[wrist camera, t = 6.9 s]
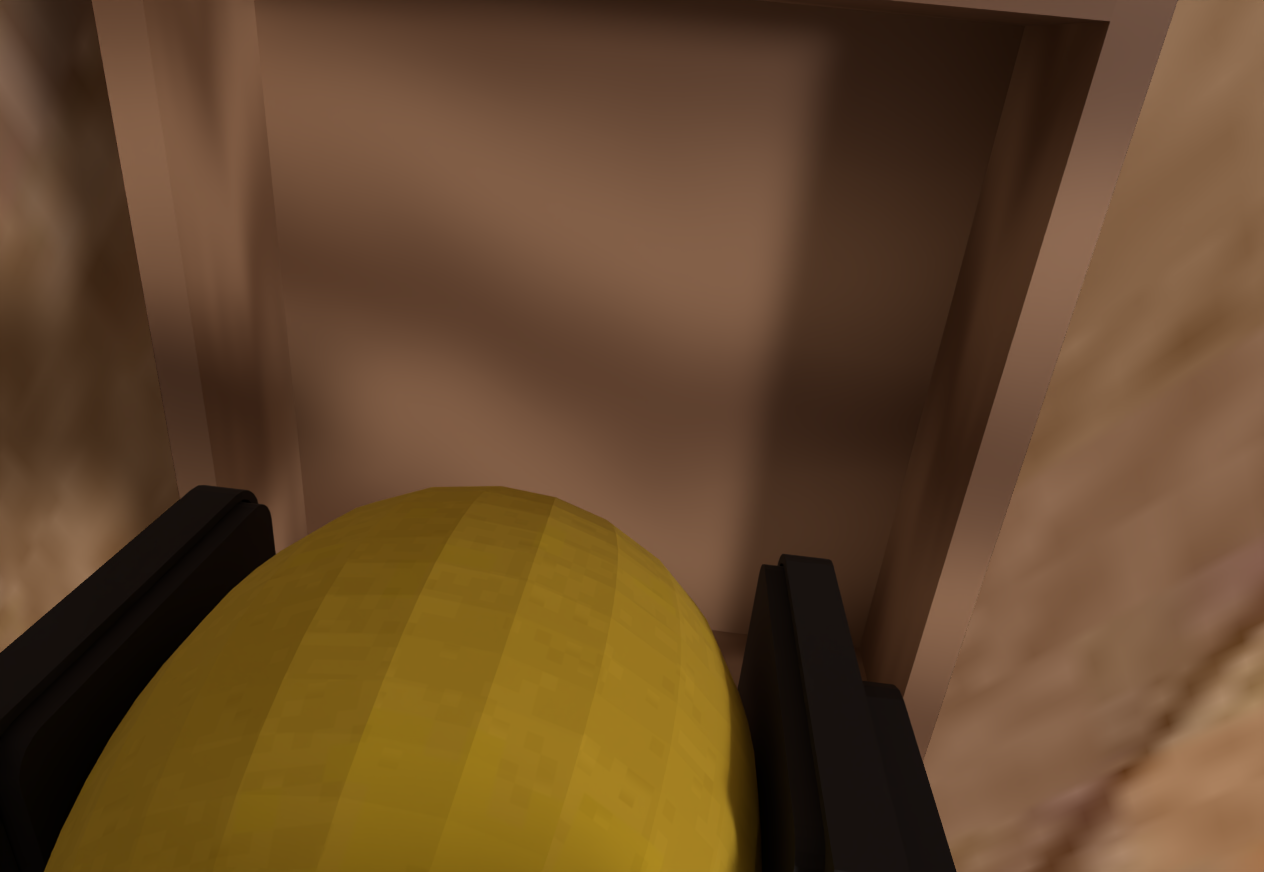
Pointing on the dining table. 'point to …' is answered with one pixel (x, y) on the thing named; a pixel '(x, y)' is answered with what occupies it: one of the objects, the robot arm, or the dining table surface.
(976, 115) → the bin
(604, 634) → the lemon
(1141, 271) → the dining table surface
